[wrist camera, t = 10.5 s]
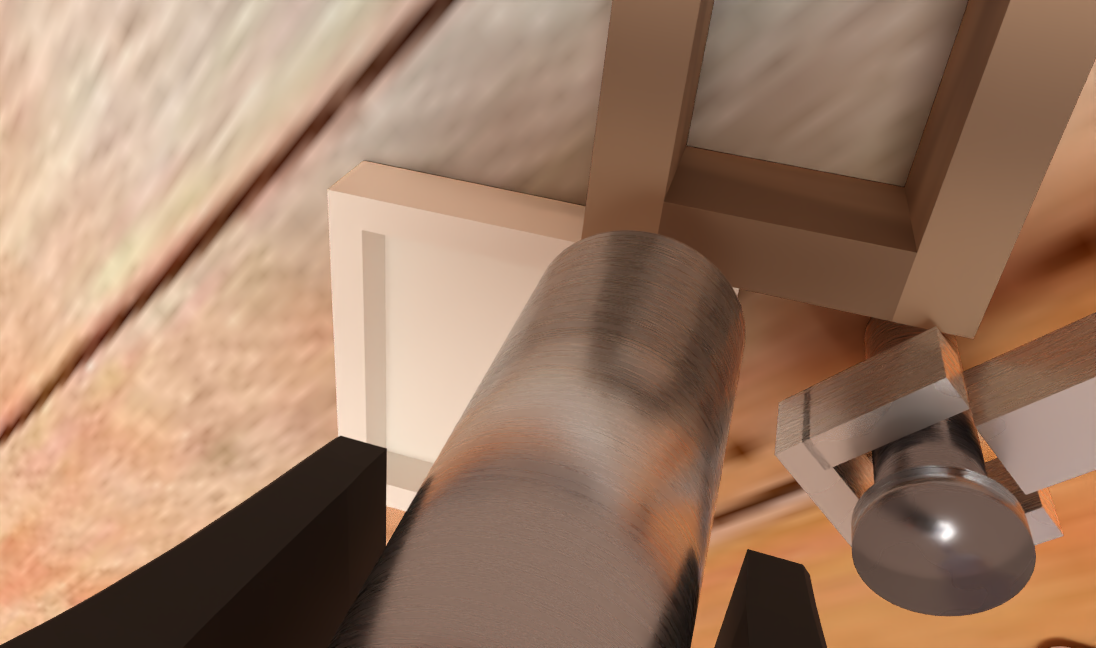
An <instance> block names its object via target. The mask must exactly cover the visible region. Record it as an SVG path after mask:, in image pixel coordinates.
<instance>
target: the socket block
mask: <svg viewBox="0 0 1096 648" xmlns="http://www.w3.org/2000/svg"><path fill="white" fill-rule="evenodd" d="M713 4H714V0H613V1H612V8H611V16H610V23H609V31H608V39H607V46H606V54H605V62H604V69H603V77H602V85H601V92H600V100H599V107H598V115H597V123H596V130H595V138H594V146H593V153H592V161H591V169H590V176H589V184H588V191H587V199H586V207H585V214H584V222H583V230H582V237H581V240H582V239H584V238H586V237H589V236H593V235H596V234H599V233H604V232H610V231H621V230H633V231H644V232H650V233H655V234H659V235H662V236H665V237H669V238H672V239H674V240H676V241H679V242H681V243H683V244H685V245H687V246H689V247H690V248H692V249H694V250H696V251H697V252H699V253H700V254H701V255H703V256H704V257H705V258H707V259H708V260H709V261H710V262H712V263H713V264H714V265H715V266H716V267H717V268H718V269H719V270H720V271H721V273H722V274H723V275H724V276H725V278H726V279H727V280H728V281H729V283H730V284H731V286H732V287H734V288H739V289H743V290H748V291H752V292H757V293H762V294H766V295H771V296H776V297H780V298H785V299H790V300H794V301H799V302H803V303H808V304H813V305H817V306H822V307H827V308H831V309H836V310H841V311H845V312H850V313H854V314H859V315H864V316H868V317H873V318H878V319H882V320H887V321H891V322H896V323H901V324H905V325H910V326H915V327H919V328H924V329H931V328H933V327H935V326H936V327H937V328H938V330H939V331H940V332H942V333H947V334H952V335H956V336H961V337H966V338H970V339H974V337H975V334H976V332H977V330H978V327H979V325H980V323H981V321H982V318H983V316H984V314H985V311H986V309H987V307H988V304H989V302H990V300H991V298H992V295H993V293H994V291H995V288H996V286H997V284H998V282H999V279H1000V277H1001V275H1002V272H1003V270H1004V268H1005V265H1006V263H1007V261H1008V259H1009V256H1010V254H1011V252H1012V249H1013V247H1014V245H1015V243H1016V240H1017V238H1018V236H1019V233H1020V231H1021V229H1022V226H1023V224H1024V222H1025V220H1026V217H1027V215H1028V213H1029V210H1030V208H1031V206H1032V204H1033V201H1034V199H1035V197H1036V194H1037V192H1038V190H1039V187H1040V185H1041V183H1042V181H1043V178H1044V176H1045V174H1046V171H1047V169H1048V167H1049V165H1050V162H1051V160H1052V158H1053V155H1054V153H1055V151H1056V148H1057V146H1058V144H1059V142H1060V139H1061V137H1062V135H1063V132H1064V130H1065V128H1066V126H1067V123H1068V121H1069V119H1070V116H1071V114H1072V112H1073V109H1074V107H1075V105H1076V103H1077V100H1078V98H1079V96H1080V93H1081V91H1082V89H1083V87H1084V84H1085V82H1086V80H1087V77H1088V75H1089V73H1090V70H1091V68H1092V66H1093V64H1094V61H1095V59H1096V0H969V2H968V5H967V7H966V10H965V13H964V16H963V19H962V22H961V25H960V28H959V31H958V34H957V36H956V39H955V42H954V45H953V48H952V51H951V54H950V57H949V60H948V63H947V65H946V68H945V71H944V74H943V77H942V80H941V83H940V86H939V89H938V92H937V94H936V97H935V100H934V103H933V106H932V109H931V112H930V115H929V118H928V121H927V123H926V126H925V129H924V132H923V135H922V138H921V141H920V144H919V147H918V150H917V153H916V155H915V158H914V161H913V164H912V167H911V170H910V173H909V176H908V179H907V182H906V184H905V187H900V186H895V185H890V184H884V183H879V182H874V181H868V180H863V179H858V178H853V177H847V176H842V175H837V174H831V173H826V172H821V171H816V170H810V169H805V168H800V167H794V166H789V165H784V164H779V163H773V162H768V161H763V160H757V159H752V158H747V157H741V156H736V155H731V154H726V153H720V152H715V151H710V150H704V149H699V148H694V147H689V146H686V144H687V139H688V134H689V129H690V124H691V118H692V113H693V108H694V103H695V98H696V92H697V87H698V82H699V77H700V72H701V66H702V61H703V56H704V51H705V45H706V40H707V35H708V30H709V25H710V19H711V14H712V9H713Z"/></svg>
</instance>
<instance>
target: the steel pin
mask: <svg viewBox="0 0 1096 648" xmlns="http://www.w3.org/2000/svg"><path fill="white" fill-rule="evenodd" d="M745 332H746V330H745V320H744V315H743V311H742V307H741V304H740V302H739V300H738V297H737V295H736V293H735V291H734V290H733V288H732V286H731V284H730V283H729V281H728V280H727V279H726V278H725V276H724V275H723V274H722V273H721V271H720V270H719V269H718V268H717V267H716V266H715V265H714V264H713V263H712V262H710V261H709V260H708V259H707V258H705V257H704V256H703V255H701V254H700V253H699V252H697V251H696V250H694V249H692V248H690V247H689V246H687V245H685V244H683V243H681V242H679V241H676V240H674V239H672V238H669V237H665V236H662V235H659V234H655V233H650V232H644V231H633V230H621V231H610V232H604V233H599V234H596V235H593V236H589V237H586V238H584V239H582V240H580V241H578V242H576V243H574V244H572V245H571V246H569V247H568V248H566V249H565V250H563V251H562V252H561V253H560V254H559V255H558V256H557V257H556V258H555V259H554V260H553V261H552V262H551V264H550V265H549V266H548V267H547V269H546V270H545V272H544V274H543V276H542V277H541V279H540V281H539V283H538V284H537V286H536V288H535V289H534V291H533V293H532V295H531V296H530V298H529V300H528V302H527V303H526V305H525V307H524V308H523V310H522V312H521V314H520V315H519V317H518V319H517V321H516V322H515V324H514V326H513V328H512V329H511V331H510V333H509V334H508V336H507V338H506V340H505V341H504V343H503V345H502V347H501V348H500V350H499V352H498V353H497V355H496V357H495V359H494V360H493V362H492V364H491V366H490V367H489V369H488V371H487V372H486V374H485V376H484V378H483V379H482V381H481V383H480V385H479V386H478V388H477V390H476V392H475V393H474V395H473V397H472V398H471V400H470V402H469V404H468V405H467V407H466V409H465V411H464V412H463V414H462V416H461V417H460V419H459V421H458V423H457V424H456V426H455V428H454V430H453V431H452V433H451V435H450V436H449V438H448V440H447V442H446V443H445V445H444V447H443V449H442V450H441V452H440V454H439V456H438V457H437V459H436V461H435V462H434V464H433V466H432V468H431V469H430V471H429V473H428V475H427V476H426V478H425V480H424V481H423V483H422V485H421V487H420V488H419V490H418V492H417V494H416V495H415V497H414V499H413V500H412V502H411V504H410V506H409V507H408V509H407V511H406V513H405V514H404V516H403V518H402V519H401V521H400V523H399V525H398V526H397V528H396V530H395V532H394V533H393V535H392V537H391V539H390V540H389V542H388V544H387V545H386V547H385V549H384V551H383V552H382V554H381V556H380V558H379V559H378V561H377V563H376V564H375V566H374V568H373V570H372V571H371V573H370V575H369V577H368V578H367V580H366V582H365V583H364V585H363V587H362V589H361V590H360V592H359V594H358V596H357V597H356V599H355V601H354V603H353V604H352V606H351V608H350V609H349V611H348V613H347V615H346V616H345V618H344V620H343V622H342V623H341V625H340V627H339V628H338V630H337V632H336V634H335V635H334V637H333V639H332V641H331V642H330V644H329V646H328V647H327V648H690V647H691V641H692V636H693V630H694V625H695V619H696V613H697V608H698V602H699V597H700V591H701V585H702V580H703V574H704V569H705V563H706V557H707V552H708V546H709V541H710V535H711V529H712V524H713V518H714V513H715V507H716V501H717V496H718V490H719V485H720V479H721V473H722V468H723V462H724V457H725V451H726V445H727V440H728V434H729V429H730V423H731V417H732V412H733V406H734V401H735V395H736V389H737V384H738V378H739V373H740V367H741V361H742V356H743V350H744V345H745Z"/></svg>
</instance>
